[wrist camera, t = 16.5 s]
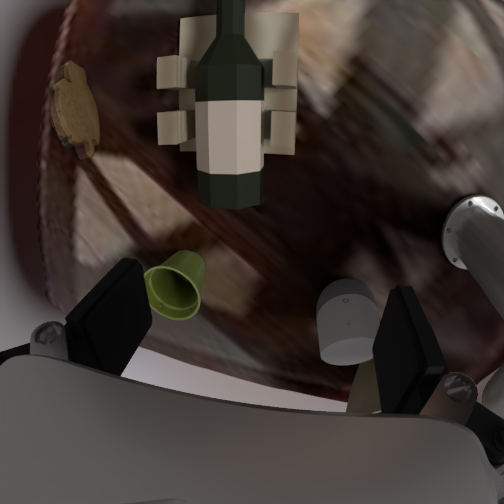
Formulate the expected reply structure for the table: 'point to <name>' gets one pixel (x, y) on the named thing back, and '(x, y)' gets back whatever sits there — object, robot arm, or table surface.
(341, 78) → the table surface
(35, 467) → the robot arm
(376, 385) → the plant pot
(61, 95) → the wooden carving
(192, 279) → the plant pot
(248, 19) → the rest
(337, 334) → the smart speaker
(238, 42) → the wine bottle
